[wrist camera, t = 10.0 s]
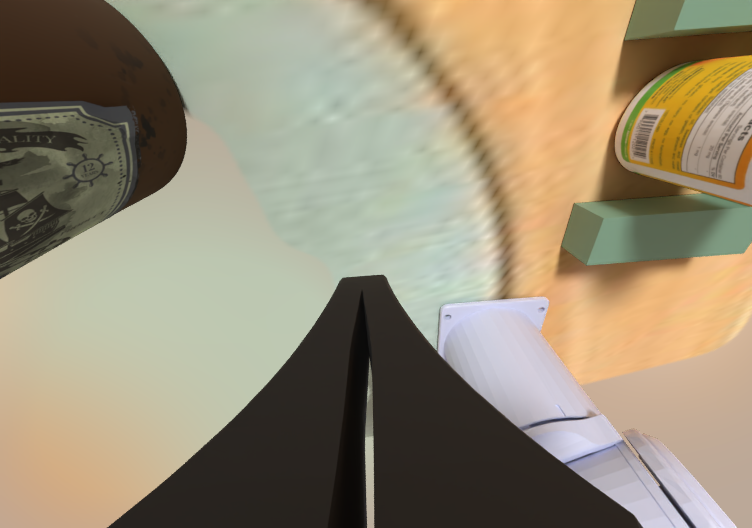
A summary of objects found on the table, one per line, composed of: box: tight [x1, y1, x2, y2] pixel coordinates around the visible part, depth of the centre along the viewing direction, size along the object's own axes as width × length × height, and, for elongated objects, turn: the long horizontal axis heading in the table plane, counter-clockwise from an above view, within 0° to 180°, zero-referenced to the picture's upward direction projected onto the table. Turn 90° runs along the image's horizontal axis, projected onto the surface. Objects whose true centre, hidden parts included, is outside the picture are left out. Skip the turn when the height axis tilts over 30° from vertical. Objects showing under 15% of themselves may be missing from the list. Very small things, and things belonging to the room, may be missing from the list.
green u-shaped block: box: [561, 0, 752, 266], centre depth 15 cm, size 14×10×2 cm
